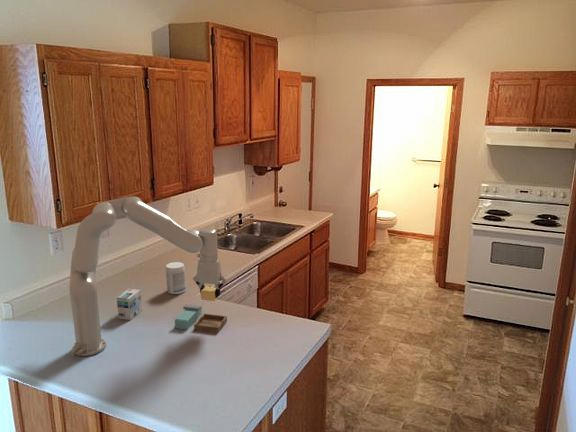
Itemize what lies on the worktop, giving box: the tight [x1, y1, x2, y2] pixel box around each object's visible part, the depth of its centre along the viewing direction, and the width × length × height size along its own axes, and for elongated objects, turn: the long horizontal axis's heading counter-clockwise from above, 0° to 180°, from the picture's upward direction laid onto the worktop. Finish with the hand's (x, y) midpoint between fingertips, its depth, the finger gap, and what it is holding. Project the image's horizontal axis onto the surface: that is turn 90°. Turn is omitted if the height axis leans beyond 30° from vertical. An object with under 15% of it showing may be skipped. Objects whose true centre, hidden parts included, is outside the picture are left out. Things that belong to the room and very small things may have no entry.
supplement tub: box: [165, 261, 187, 295], centre depth 242 cm, size 10×10×15 cm
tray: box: [193, 313, 228, 334], centre depth 207 cm, size 11×11×2 cm
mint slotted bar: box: [174, 304, 203, 330], centre depth 211 cm, size 16×8×5 cm, turn 168°
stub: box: [200, 285, 217, 302], centre depth 204 cm, size 6×6×4 cm
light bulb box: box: [116, 288, 143, 321], centre depth 216 cm, size 11×7×11 cm, turn 168°
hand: (210, 295), depth 204 cm, fingers closed on stub, 6 cm apart
